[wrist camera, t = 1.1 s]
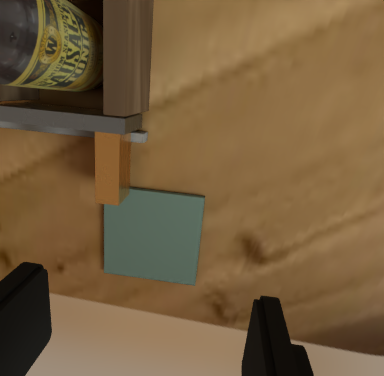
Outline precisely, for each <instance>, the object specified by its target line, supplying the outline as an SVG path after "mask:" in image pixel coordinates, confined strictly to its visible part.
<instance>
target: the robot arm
mask: <svg viewBox="0 0 384 376" xmlns="http://www.w3.org/2000/svg"><path fill="white" fill-rule="evenodd" d="M51 333H52V328H51V314H50V299H49V285H48V273H47V270H46V269H44V268H43V266H42V265H41V264H36V263H29V262H23V263H22V264H20V265H19V266H18V267H17V268H15V269H14V270H13V271H12V272H11V273H10V274H8V275H7V276H6V277H5V278H4V279H2V280H1V281H0V376H25V375H26V373H27V372H28V371H29V369H30V368H31V366H32V365H33V363H34V362H35V360H36V359H37V358H38V356H39V355H40V353H41V352H42V350H43V349H44V348H45V346H46V345H47V343H48V342H49V340H50V337H51ZM242 376H314V375H313V371H312V368H311V365H310V362H309V359H308V355H307V352H306V350H305V348H304V347H303V346H301V345H294V344H291V341H290V337H289V334H288V330H287V326H286V322H285V319H284V315H283V311H282V307H281V304H280V300H279V298H276V297H269V296H261V297H260V300H257V299H254V302H253V307H252V312H251V317H250V323H249V328H248V333H247V339H246V344H245V349H244V355H243V360H242Z"/></svg>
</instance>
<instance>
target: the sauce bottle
mask: <svg viewBox="0 0 384 376" xmlns="http://www.w3.org/2000/svg"><path fill="white" fill-rule="evenodd" d="M102 83H103V28H102V27H101V25H100V24H99V23H98V22H97V21H96V20H95V19H94V18H92V17H91V16H89V15H88V14H86V13H85V12H83V11H82V10H80V9H79V8H77V7H76V6H75V5H73V4H72V3H70V2H69V1H67V0H0V84H1V85H8V86H19V87H30V88H41V89H53V90H62V91H75V92H81V91H86V90H90V89H93V88H97V87H99V86H100V85H101V84H102Z"/></svg>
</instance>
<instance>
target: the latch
mask: <svg viewBox="0 0 384 376" xmlns="http://www.w3.org/2000/svg"><path fill="white" fill-rule="evenodd" d="M0 121H2V122H11V123H20V124H30V125H39V126H48V127H57V128H66V129H76V130H85V131H94V132H95V197H96V203H101V204H109V205H117V206H119V205H120V204H121V203H122V202H123V200H124V199H125V198H126V197H127V196H128V195H129V189H130V151H131V132H132V131H135V130H137V129H139V128H142V114H133V115H129V116H125V117H124V116H114V115H104V114H103V110H97V109H87V108H77V107H68V106H58V105H48V104H39V103H29V102H25V103H6V104H0Z"/></svg>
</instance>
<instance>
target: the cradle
mask: <svg viewBox="0 0 384 376" xmlns="http://www.w3.org/2000/svg"><path fill="white" fill-rule="evenodd" d="M152 23H153V0H103V114H104V115H114V116H124V117H125V116H129V115H133V114H137V113H141V112H145V111H149V91H150V68H151V45H152ZM38 99H39V88H30V87H19V86H8V85H1V84H0V101H14V100H38ZM0 127H2V128H11V129H20V130H29V131H39V132H48V133H57V134H66V135H75V136H84V137H93V138H95V132H94V131H85V130H76V129H66V128H57V127H48V126H39V125H30V124H20V123H11V122H2V121H0ZM147 136H148V132H143V131H132V132H131V142H139V143H144V142H146V141H147Z"/></svg>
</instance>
